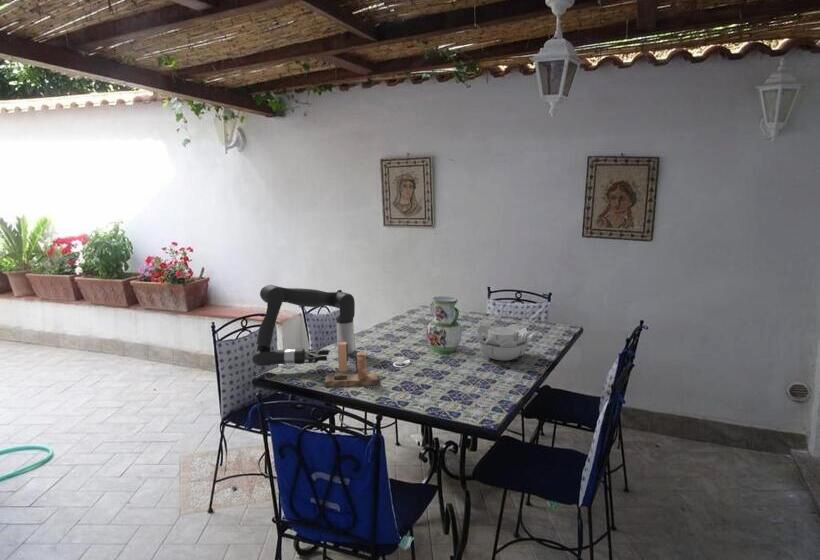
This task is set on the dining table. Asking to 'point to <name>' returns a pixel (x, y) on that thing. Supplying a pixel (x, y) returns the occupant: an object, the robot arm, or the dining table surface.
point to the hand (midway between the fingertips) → (327, 355)
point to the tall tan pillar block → (343, 356)
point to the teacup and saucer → (401, 362)
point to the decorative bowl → (502, 341)
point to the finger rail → (353, 375)
